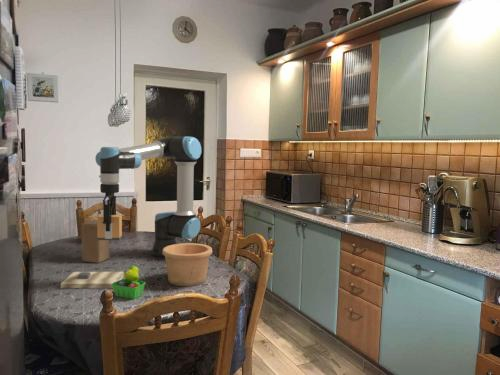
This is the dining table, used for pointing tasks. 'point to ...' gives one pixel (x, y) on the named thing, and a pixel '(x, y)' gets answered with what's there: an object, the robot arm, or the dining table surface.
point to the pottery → (187, 263)
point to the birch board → (92, 280)
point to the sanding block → (116, 227)
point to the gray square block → (84, 275)
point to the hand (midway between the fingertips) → (110, 236)
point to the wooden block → (93, 244)
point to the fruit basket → (129, 284)
